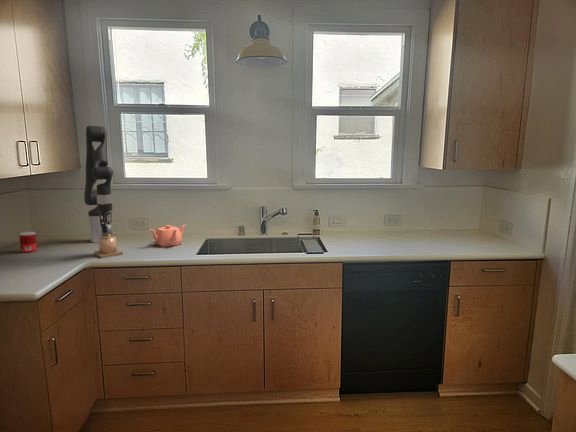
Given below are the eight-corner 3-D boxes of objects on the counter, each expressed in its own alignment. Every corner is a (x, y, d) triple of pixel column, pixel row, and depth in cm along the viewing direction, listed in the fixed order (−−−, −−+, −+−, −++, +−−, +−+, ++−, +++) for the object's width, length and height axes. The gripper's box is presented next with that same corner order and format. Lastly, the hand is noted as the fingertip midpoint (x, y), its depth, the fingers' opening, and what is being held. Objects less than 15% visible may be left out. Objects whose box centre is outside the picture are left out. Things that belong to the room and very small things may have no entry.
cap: (100, 235, 215) (99, 224, 214) (110, 233, 219) (109, 223, 218) (104, 237, 210) (103, 226, 209) (114, 235, 214) (114, 225, 213)
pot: (176, 248, 231) (175, 228, 229) (149, 247, 233) (148, 227, 231) (187, 241, 249) (186, 223, 247) (161, 240, 251) (161, 222, 249)
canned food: (40, 250, 223) (38, 232, 221) (27, 253, 215) (25, 235, 214) (31, 249, 225) (29, 231, 223) (18, 252, 218) (15, 233, 216)
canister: (93, 253, 217) (92, 233, 215) (115, 250, 225) (113, 230, 223) (100, 258, 209) (99, 237, 206) (122, 254, 217) (121, 234, 215)
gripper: (101, 200, 218) (103, 229, 221) (93, 204, 204) (95, 234, 207) (115, 200, 219) (117, 229, 222) (107, 204, 205) (109, 234, 208)
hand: (106, 231), depth 214 cm, fingers closed on cap, 5 cm apart
